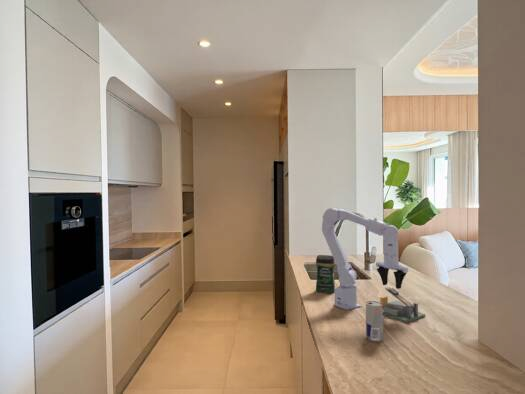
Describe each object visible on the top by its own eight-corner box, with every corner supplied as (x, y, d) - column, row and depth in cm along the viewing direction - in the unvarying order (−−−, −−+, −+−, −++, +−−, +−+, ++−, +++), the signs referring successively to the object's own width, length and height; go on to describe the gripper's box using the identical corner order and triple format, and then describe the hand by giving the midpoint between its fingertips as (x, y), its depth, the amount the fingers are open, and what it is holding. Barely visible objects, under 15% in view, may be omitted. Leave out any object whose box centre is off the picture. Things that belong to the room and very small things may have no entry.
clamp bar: (415, 308, 125) (416, 305, 125) (410, 309, 124) (411, 306, 124) (389, 288, 136) (390, 286, 135) (384, 289, 135) (385, 287, 134)
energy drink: (369, 334, 111) (369, 299, 111) (385, 338, 108) (384, 302, 108) (363, 339, 107) (363, 303, 107) (379, 343, 104) (379, 307, 104)
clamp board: (406, 322, 121) (406, 308, 121) (372, 310, 135) (372, 297, 135) (425, 316, 127) (425, 302, 127) (391, 305, 141) (391, 292, 141)
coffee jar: (314, 292, 161) (314, 256, 161) (317, 288, 169) (317, 253, 169) (334, 294, 158) (333, 257, 158) (336, 290, 165) (335, 254, 165)
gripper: (412, 255, 129) (413, 289, 129) (383, 250, 142) (383, 281, 142) (401, 257, 126) (402, 291, 125) (372, 252, 138) (372, 283, 138)
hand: (391, 286), depth 133 cm, fingers open, 6 cm apart
